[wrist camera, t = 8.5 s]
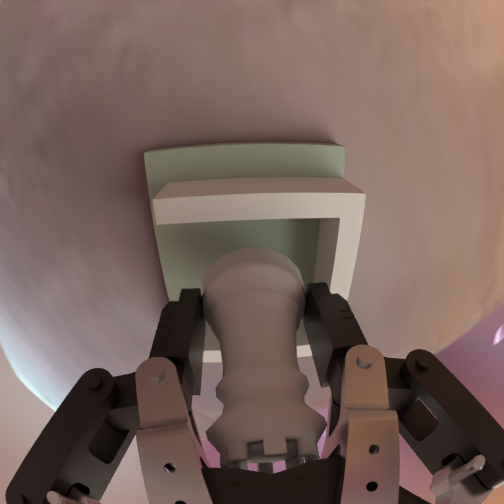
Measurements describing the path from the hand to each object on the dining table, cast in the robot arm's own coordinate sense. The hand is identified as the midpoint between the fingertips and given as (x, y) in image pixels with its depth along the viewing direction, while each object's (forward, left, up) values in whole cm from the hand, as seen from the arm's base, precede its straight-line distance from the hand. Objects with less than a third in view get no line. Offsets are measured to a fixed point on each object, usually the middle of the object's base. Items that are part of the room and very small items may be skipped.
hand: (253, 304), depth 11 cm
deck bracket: (0, 0, -4) cm, 4 cm away
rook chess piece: (0, 0, -2) cm, 2 cm away
